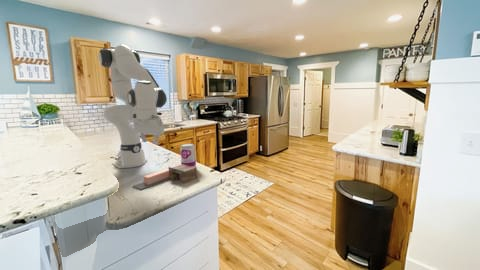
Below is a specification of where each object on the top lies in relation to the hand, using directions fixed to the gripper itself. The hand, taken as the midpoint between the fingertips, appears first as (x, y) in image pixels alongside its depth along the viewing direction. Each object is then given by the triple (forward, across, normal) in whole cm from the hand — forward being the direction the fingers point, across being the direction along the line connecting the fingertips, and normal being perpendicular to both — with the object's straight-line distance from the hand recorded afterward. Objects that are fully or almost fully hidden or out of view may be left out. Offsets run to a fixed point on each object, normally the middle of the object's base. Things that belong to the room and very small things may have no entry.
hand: (150, 142), depth 106 cm
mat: (+20, -2, +2) cm, 20 cm away
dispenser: (+20, -10, -10) cm, 25 cm away
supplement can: (+20, -2, -22) cm, 30 cm away
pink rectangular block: (+19, -2, -2) cm, 20 cm away
